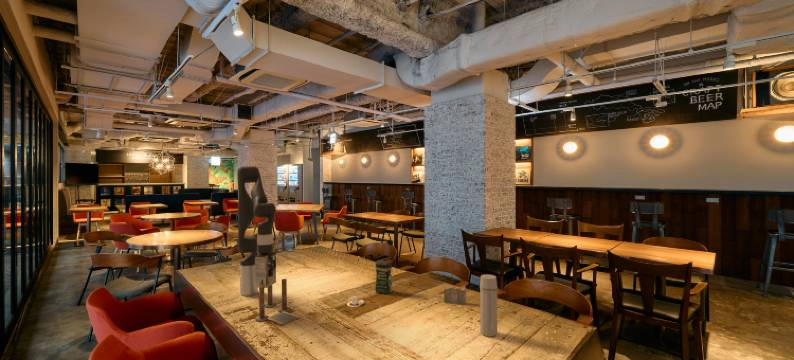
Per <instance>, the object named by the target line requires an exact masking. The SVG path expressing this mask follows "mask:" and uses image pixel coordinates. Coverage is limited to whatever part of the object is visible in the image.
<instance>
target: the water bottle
mask: <svg viewBox="0 0 794 360" xmlns="http://www.w3.org/2000/svg"><path fill="white" fill-rule="evenodd" d="M479 289H480V291H479V292H480V302H479V304H480V305H479V306H480V309H479V310H480V312H479V313H480V316H479V317H480V322H479V323H480V325H479V326H480V334H481V335H482V336H485V337H488V338H492V337H495V336H497V335H498V291H500V290H499V287H498V281H497V276H496V275H493V274H482V275H480V282H479Z"/></svg>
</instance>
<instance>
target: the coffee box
mask: <svg viewBox="0 0 794 360" xmlns="http://www.w3.org/2000/svg"><path fill="white" fill-rule="evenodd" d="M276 252H277V251H273V252H272V253H271V255H272V256H276ZM268 263H270V258H269V259H268V255H265V254H258V255H255V287H257V288H258V289H259V286H262V285H263V286H264V289H268V287H269V286H271V285H272V286H273V285H274V284H277V267H276V268H273V276H271V277H269V276H268ZM273 266H274V263H273Z"/></svg>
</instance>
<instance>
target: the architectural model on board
mask: <svg viewBox="0 0 794 360" xmlns="http://www.w3.org/2000/svg"><path fill="white" fill-rule="evenodd" d="M443 293H444V294H443V295H444V296H443V297H444V298H443V299H444V301H443V302H444V303H447V304H455V305H456V304H458V305H467V289H466V285H461V287H460V288H453V287H449V288H446V287H444V288H443Z"/></svg>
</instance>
